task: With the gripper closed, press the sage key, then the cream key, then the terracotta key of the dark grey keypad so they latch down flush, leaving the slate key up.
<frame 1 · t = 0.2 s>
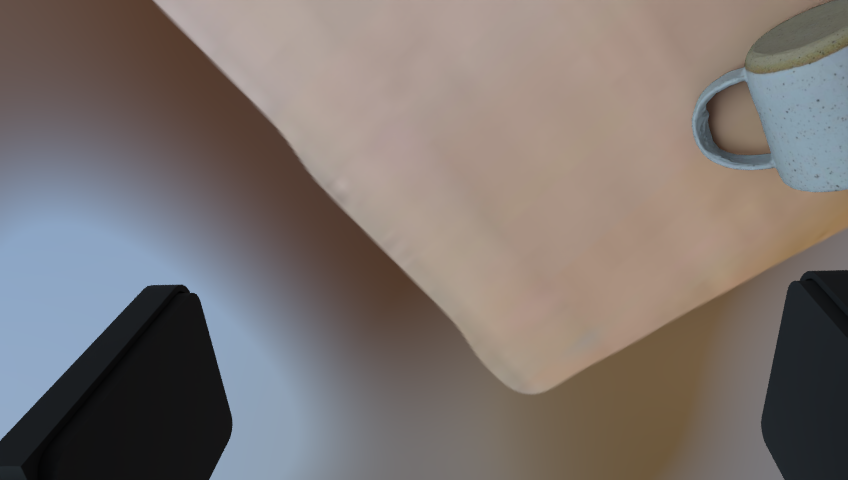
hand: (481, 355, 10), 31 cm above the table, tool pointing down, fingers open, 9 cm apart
ceramic mug: (781, 93, 38), on the table
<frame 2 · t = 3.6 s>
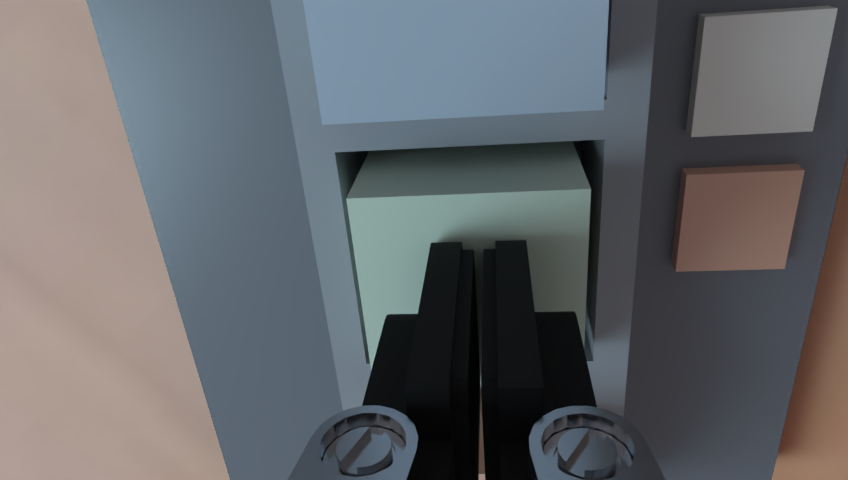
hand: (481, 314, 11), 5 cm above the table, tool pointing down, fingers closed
keypad: (470, 75, 15), on the table
sage key: (472, 257, 13), point 4 cm above the table, slide at 0.8 cm, touching gripper
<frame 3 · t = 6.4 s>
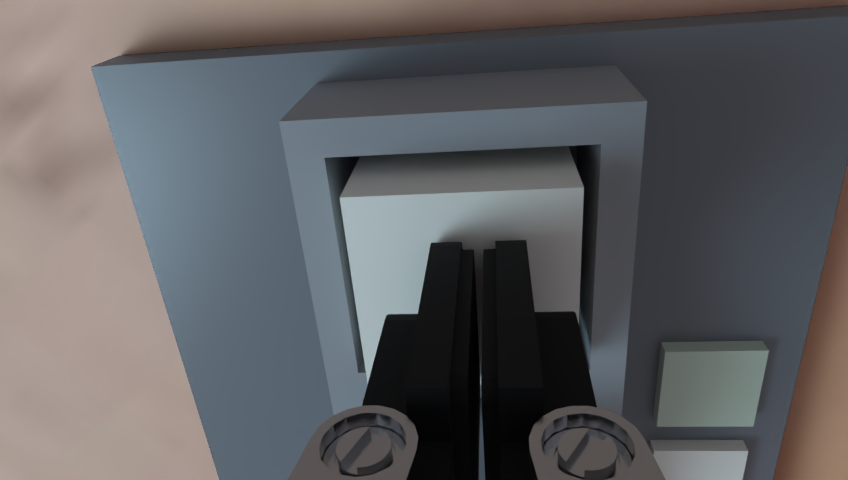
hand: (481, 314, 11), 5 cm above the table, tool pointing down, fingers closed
keypad: (482, 440, 19), on the table
cream key: (466, 256, 13), point 3 cm above the table, slide at 1.1 cm, touching gripper
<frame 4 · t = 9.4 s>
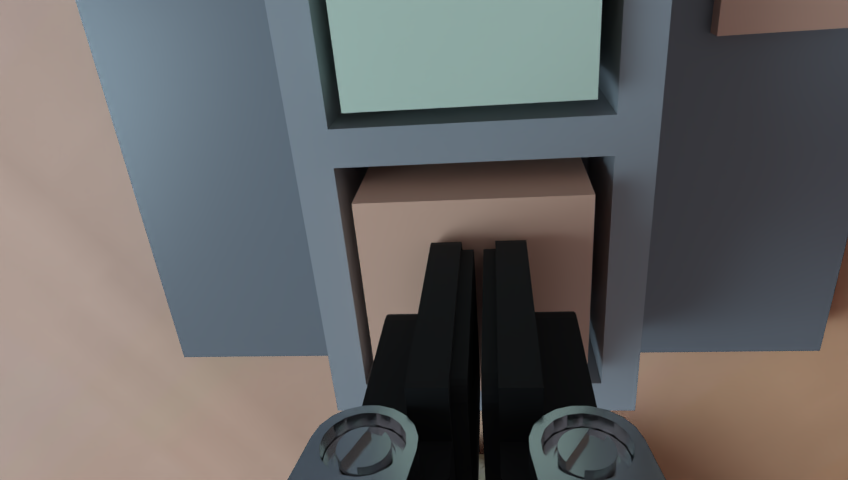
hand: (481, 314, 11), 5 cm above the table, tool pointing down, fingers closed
terracotta key: (477, 262, 13), point 3 cm above the table, slide at 1.3 cm, touching gripper
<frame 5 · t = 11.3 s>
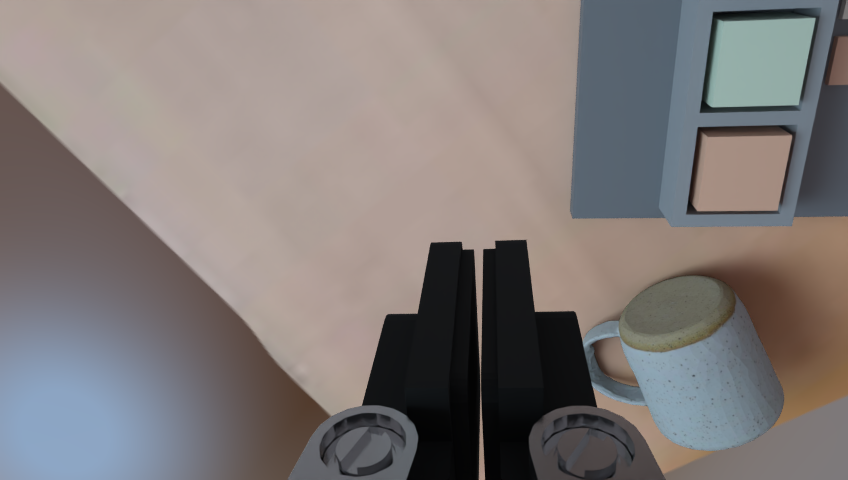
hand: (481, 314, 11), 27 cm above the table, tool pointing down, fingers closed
terracotta key: (733, 165, 34), point 3 cm above the table, slide at 1.5 cm
ceramic mug: (659, 333, 42), on the table
sage key: (750, 59, 31), point 3 cm above the table, slide at 1.5 cm
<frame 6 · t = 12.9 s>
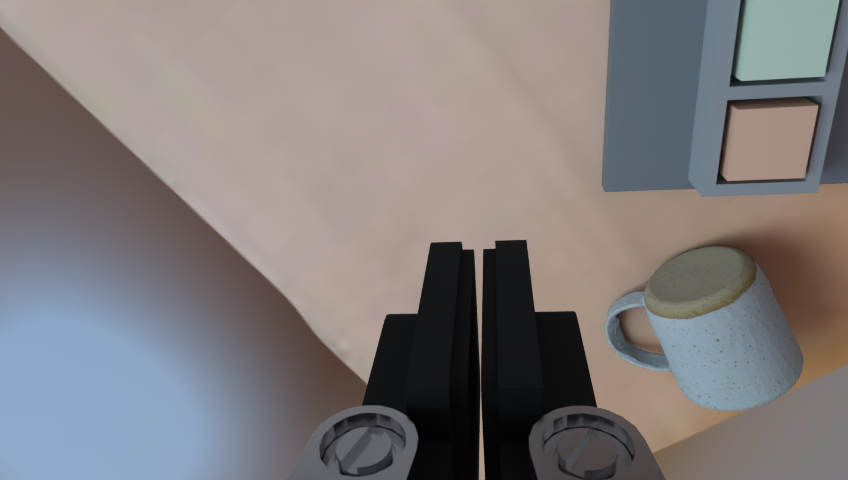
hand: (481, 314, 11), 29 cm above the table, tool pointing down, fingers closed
terracotta key: (760, 136, 35), point 3 cm above the table, slide at 1.5 cm
ceramic mug: (681, 303, 44), on the table
sage key: (777, 33, 33), point 3 cm above the table, slide at 1.5 cm
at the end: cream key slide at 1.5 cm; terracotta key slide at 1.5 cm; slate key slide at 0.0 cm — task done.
